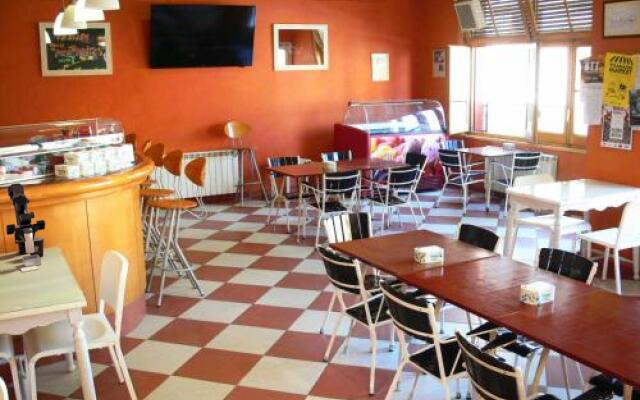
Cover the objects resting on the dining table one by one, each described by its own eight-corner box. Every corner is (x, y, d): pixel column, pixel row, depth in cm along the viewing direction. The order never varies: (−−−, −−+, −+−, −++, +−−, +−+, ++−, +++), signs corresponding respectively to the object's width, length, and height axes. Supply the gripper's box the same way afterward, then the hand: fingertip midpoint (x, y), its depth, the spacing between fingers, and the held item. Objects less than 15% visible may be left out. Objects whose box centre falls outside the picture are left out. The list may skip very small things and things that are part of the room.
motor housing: (23, 264, 349) (22, 256, 348) (38, 261, 353) (37, 254, 353) (25, 267, 343) (25, 260, 342) (41, 264, 347) (40, 257, 346)
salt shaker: (25, 252, 346) (22, 228, 343) (33, 250, 348) (31, 227, 345) (26, 253, 342) (23, 230, 340) (35, 252, 344) (32, 229, 342)
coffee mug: (48, 254, 367) (46, 237, 365) (40, 259, 358) (38, 241, 356) (28, 254, 368) (26, 237, 366) (20, 259, 359) (18, 241, 357)
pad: (19, 268, 341) (19, 268, 341) (35, 266, 345) (35, 265, 345) (22, 272, 335) (22, 271, 335) (38, 269, 339) (38, 268, 339)
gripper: (4, 209, 339) (10, 234, 332) (42, 204, 349) (49, 228, 342) (3, 222, 347) (9, 246, 340) (41, 217, 357) (47, 240, 350)
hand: (29, 240), depth 343 cm, fingers closed on salt shaker, 4 cm apart
